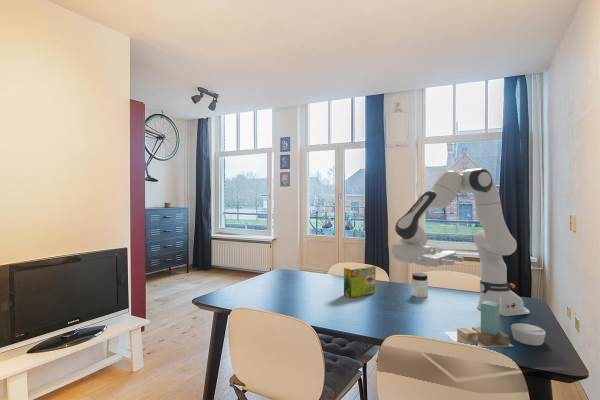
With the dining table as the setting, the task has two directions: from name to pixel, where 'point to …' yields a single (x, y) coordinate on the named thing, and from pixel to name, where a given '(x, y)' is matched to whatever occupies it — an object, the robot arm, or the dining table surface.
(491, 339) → the walnut base
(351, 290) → the fingerpaint box
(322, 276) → the dining table surface
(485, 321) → the teal block
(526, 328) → the ramekin
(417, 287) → the jar
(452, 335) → the blueprint board
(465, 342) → the oak cube
